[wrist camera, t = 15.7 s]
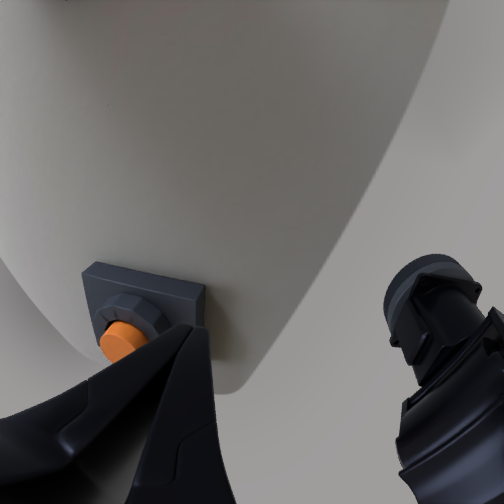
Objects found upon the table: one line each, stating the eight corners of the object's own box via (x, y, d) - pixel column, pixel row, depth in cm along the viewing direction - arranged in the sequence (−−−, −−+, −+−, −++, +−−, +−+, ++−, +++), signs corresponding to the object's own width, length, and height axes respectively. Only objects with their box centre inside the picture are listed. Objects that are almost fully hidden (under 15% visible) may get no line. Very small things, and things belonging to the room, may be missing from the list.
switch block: (205, 284, 22) (188, 315, 18) (203, 358, 25) (190, 391, 21) (95, 261, 22) (67, 283, 19) (108, 332, 26) (88, 358, 22)
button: (148, 327, 19) (137, 342, 18) (153, 361, 21) (144, 376, 19) (106, 315, 20) (95, 328, 18) (114, 348, 21) (104, 362, 20)
